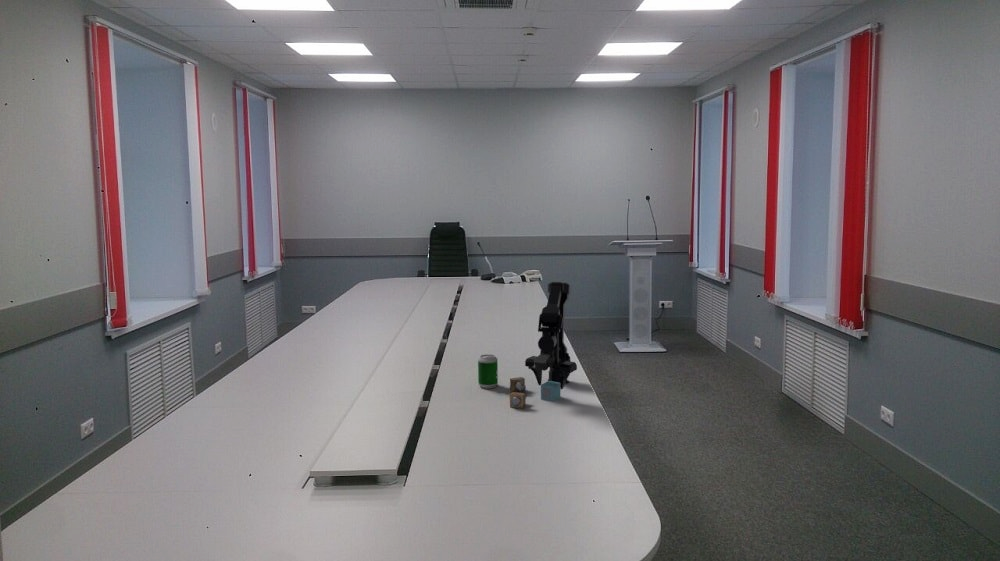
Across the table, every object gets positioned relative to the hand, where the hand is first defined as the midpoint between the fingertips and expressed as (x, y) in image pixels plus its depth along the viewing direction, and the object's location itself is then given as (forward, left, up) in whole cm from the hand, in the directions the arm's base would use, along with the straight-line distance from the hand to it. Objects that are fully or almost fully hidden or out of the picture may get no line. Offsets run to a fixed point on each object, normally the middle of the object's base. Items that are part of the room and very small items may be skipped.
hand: (550, 387), depth 237 cm
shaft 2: (+15, +2, -4) cm, 15 cm away
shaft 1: (+7, -12, -4) cm, 15 cm away
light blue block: (0, 0, -4) cm, 4 cm away
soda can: (+14, -24, -4) cm, 28 cm away
